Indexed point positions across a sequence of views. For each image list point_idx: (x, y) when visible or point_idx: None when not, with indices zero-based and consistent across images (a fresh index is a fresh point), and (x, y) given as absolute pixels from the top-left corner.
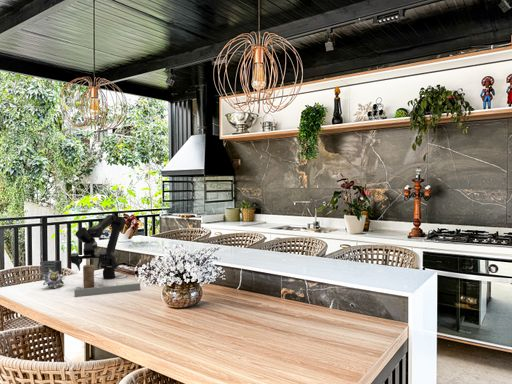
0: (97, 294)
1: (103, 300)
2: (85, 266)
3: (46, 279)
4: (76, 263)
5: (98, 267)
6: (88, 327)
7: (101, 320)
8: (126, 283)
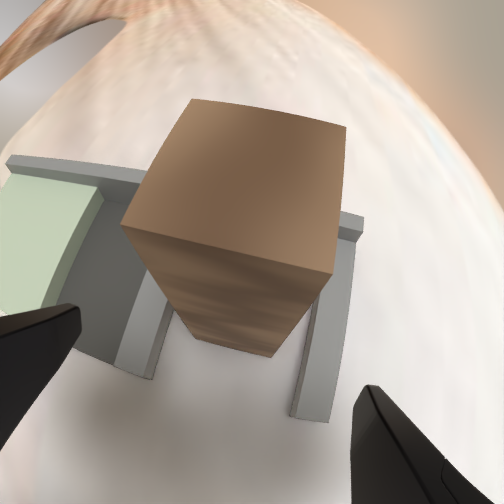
0: None
1: None
2: (308, 138)
3: None
4: None
5: (60, 304)
6: (306, 11)
7: (277, 16)
8: (4, 269)
